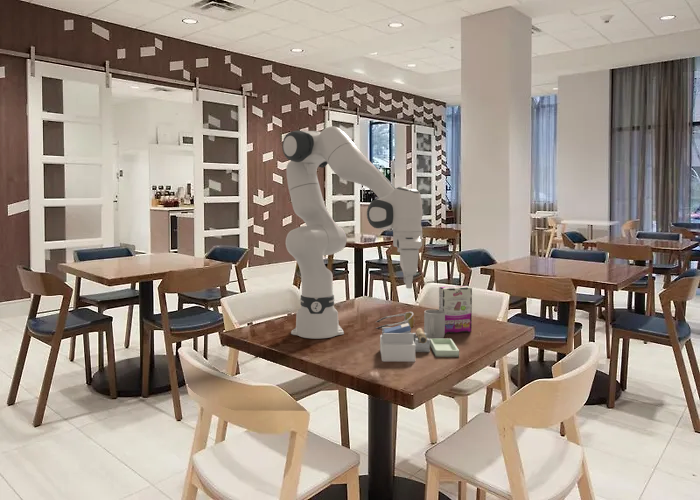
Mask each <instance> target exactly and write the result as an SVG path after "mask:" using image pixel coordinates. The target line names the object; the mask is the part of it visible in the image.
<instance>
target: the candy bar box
mask: <svg viewBox="0 0 700 500" xmlns="http://www.w3.org/2000/svg"><path fill="white" fill-rule="evenodd" d="M438 293H439V294H438V310H442V311H445V334H450V333H451V334H456V333H470V332H472V323H473V322H472V314H473V313H472V311H473V309H472V308H473V304H472V303H473V300H472V299H473V298H472V297H473V296H472V295H473V287H471V286H469V285H455V286H439V287H438Z"/></svg>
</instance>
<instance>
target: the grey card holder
mask: <svg viewBox="0 0 700 500" xmlns="http://www.w3.org/2000/svg"><path fill="white" fill-rule="evenodd" d="M391 327H392V326H387V327H382V328H381V334H380V336H379V351H380V357H381V362H416V351H415V343H414V340H413V333H414V332H411V331H412V330H411V331H407V332H403V333H385V332H384V329H387V328H391ZM410 328H411V327H410ZM411 329H412V328H411Z"/></svg>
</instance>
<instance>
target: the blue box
mask: <svg viewBox="0 0 700 500" xmlns="http://www.w3.org/2000/svg"><path fill="white" fill-rule="evenodd" d="M390 327H391V328H387V329H384V332H385V333H403V332H407V331H412V328H410V325H409V323H405V324H398V325H397V326H396V325H394V326H390Z"/></svg>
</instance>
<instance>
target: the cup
mask: <svg viewBox="0 0 700 500" xmlns="http://www.w3.org/2000/svg"><path fill="white" fill-rule="evenodd" d="M423 315H424V316H423V318H424V319H423V320H424V321H423V323H424V324H423V325H424V326H423V332H424V333H427V338H429V339H430V338H444V337H445V334H446V333H445V311H442V310H439V309H426V310H424V314H423Z"/></svg>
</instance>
